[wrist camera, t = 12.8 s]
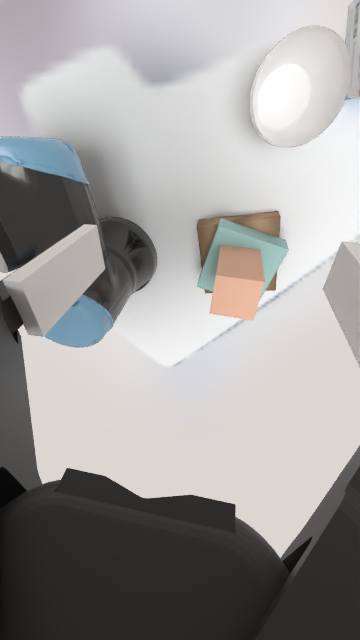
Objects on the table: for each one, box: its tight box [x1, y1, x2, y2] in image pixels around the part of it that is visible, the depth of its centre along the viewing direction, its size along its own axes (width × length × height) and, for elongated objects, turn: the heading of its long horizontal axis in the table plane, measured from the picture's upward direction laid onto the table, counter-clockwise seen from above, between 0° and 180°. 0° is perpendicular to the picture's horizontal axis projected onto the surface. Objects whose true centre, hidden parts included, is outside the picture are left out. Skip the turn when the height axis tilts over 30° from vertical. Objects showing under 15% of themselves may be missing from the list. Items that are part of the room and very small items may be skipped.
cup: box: [250, 26, 351, 147], centre depth 29 cm, size 9×9×12 cm
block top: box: [197, 218, 289, 301], centre depth 43 cm, size 11×11×4 cm
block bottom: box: [197, 211, 280, 293], centre depth 47 cm, size 13×13×4 cm
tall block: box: [210, 245, 265, 320], centre depth 37 cm, size 6×6×10 cm
